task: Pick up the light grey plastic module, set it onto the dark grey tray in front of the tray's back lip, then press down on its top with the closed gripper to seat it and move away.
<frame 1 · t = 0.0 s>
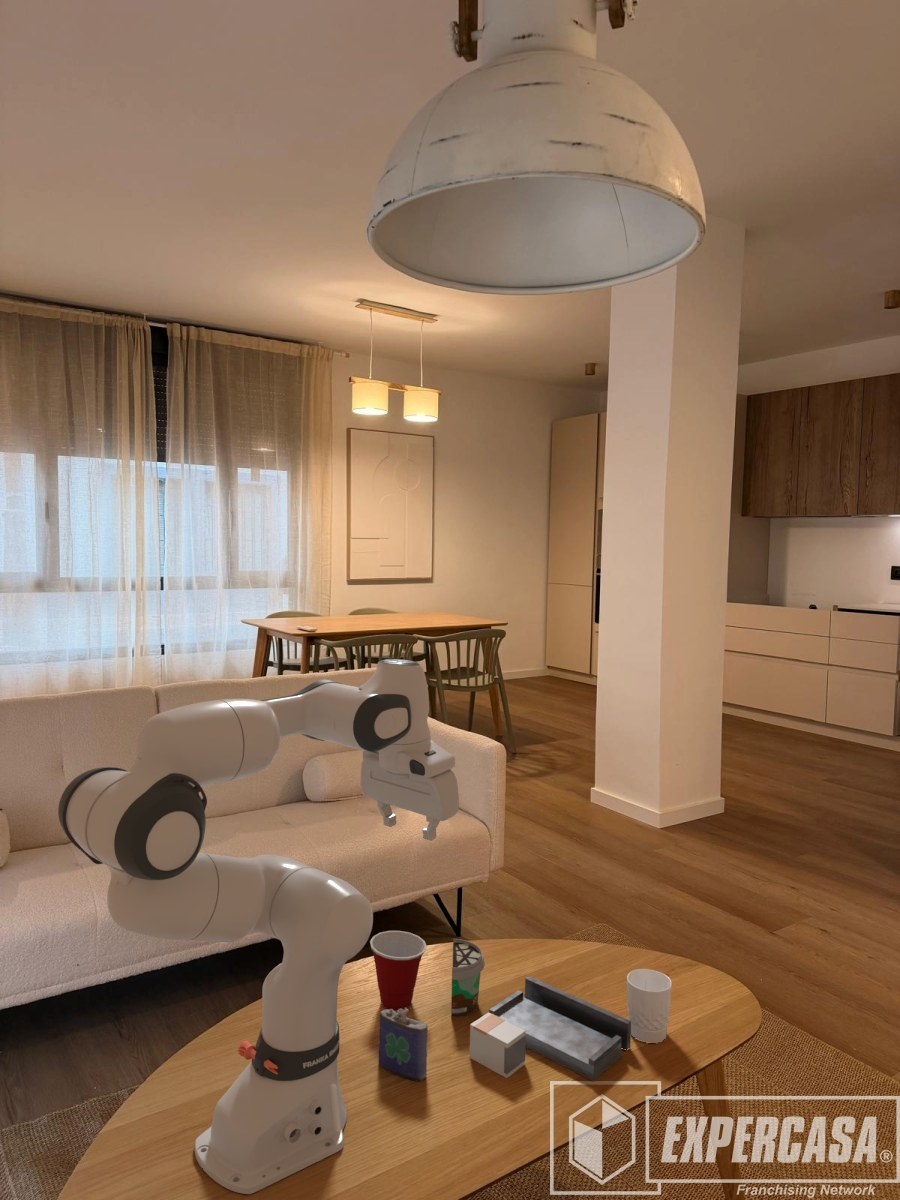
hand: (409, 831, 139), 39 cm above the table, tool pointing down, fingers open, 8 cm apart
module: (496, 1061, 139), on the table
dark grey tray: (553, 1042, 145), on the table
plastic cup: (397, 1003, 157), on the table
white cup: (647, 1034, 148), on the table
flask: (401, 1072, 136), on the table
food container: (467, 1004, 157), on the table
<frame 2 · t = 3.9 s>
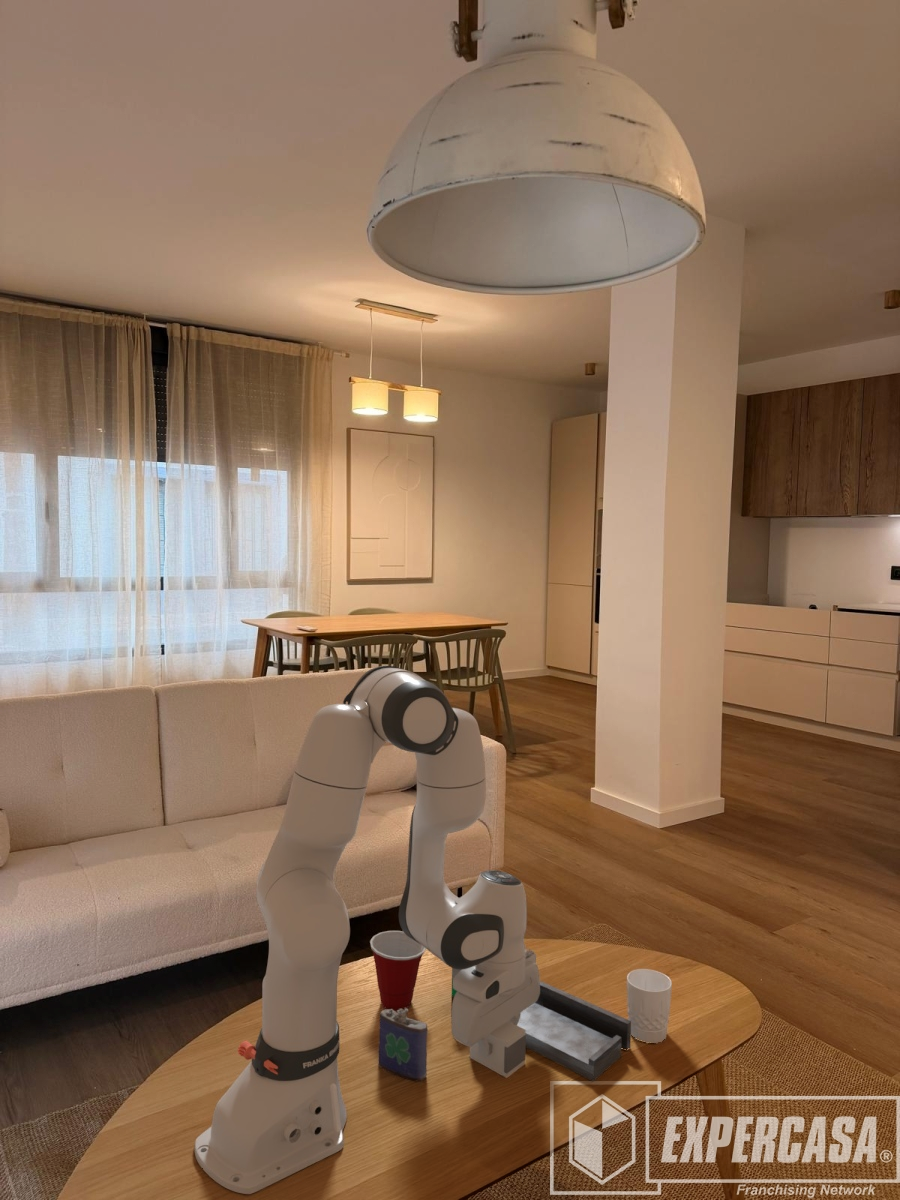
hand: (497, 1045, 139), 3 cm above the table, tool pointing down, fingers closed on module, 5 cm apart
module: (497, 1060, 139), on the table, touching gripper
everything else where it was.
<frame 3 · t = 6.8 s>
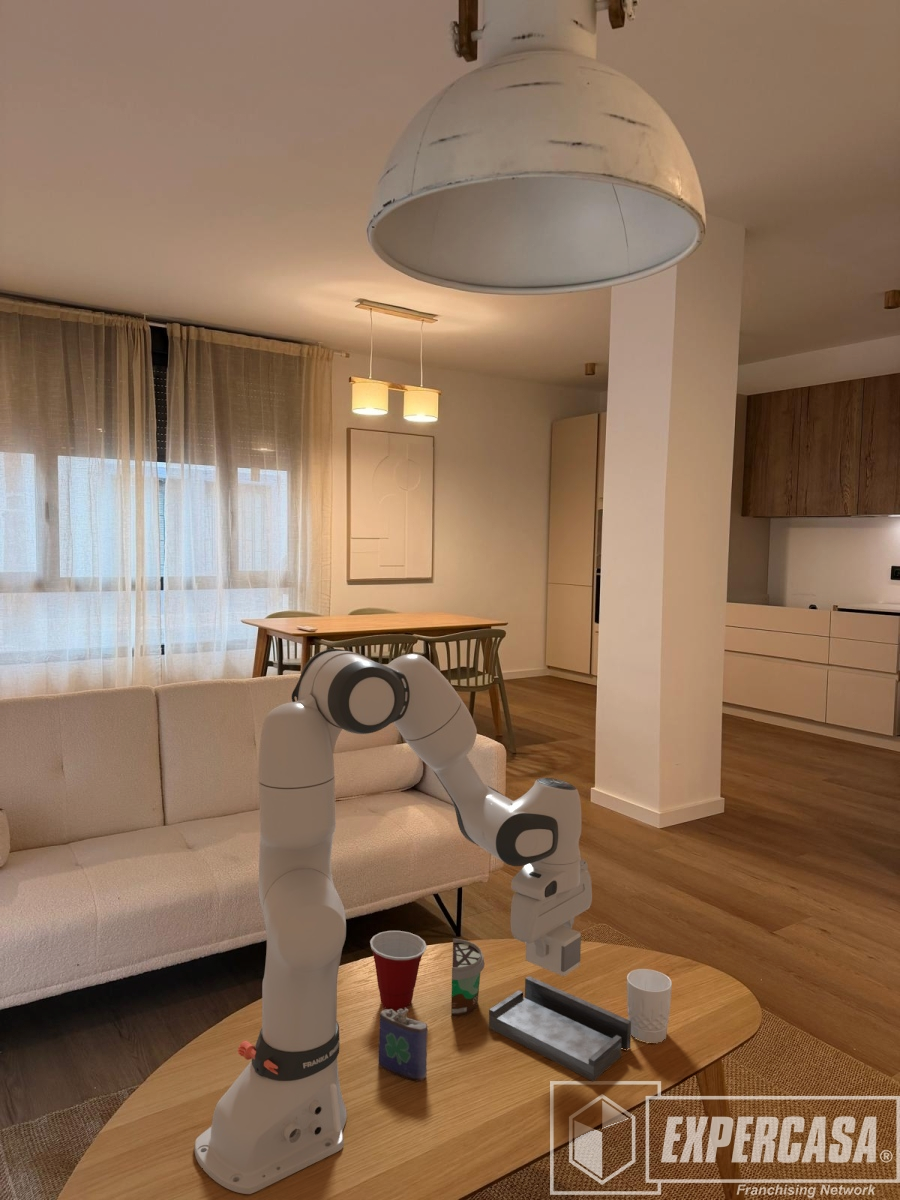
hand: (552, 948, 143), 17 cm above the table, tool pointing down, fingers closed on module, 5 cm apart
module: (552, 963, 143), point 15 cm above the table, touching gripper
everything else where it was.
when the fingers open (6 cm above the table, at t = 9.5 s): module stays where it is, resting on dark grey tray.
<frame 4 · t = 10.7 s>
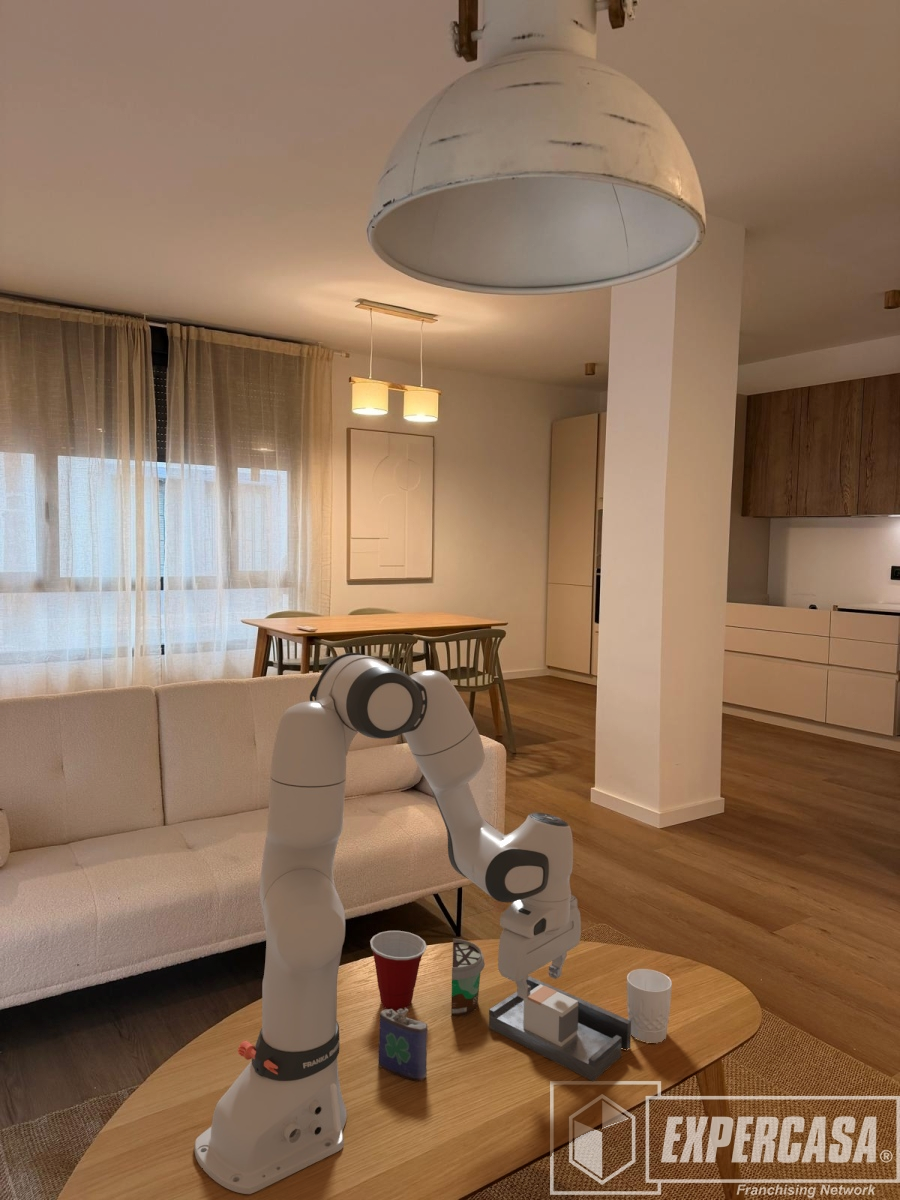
hand: (539, 986, 141), 12 cm above the table, tool pointing down, fingers open, 8 cm apart
module: (550, 1031, 144), point 2 cm above the table, touching dark grey tray
everything else where it was.
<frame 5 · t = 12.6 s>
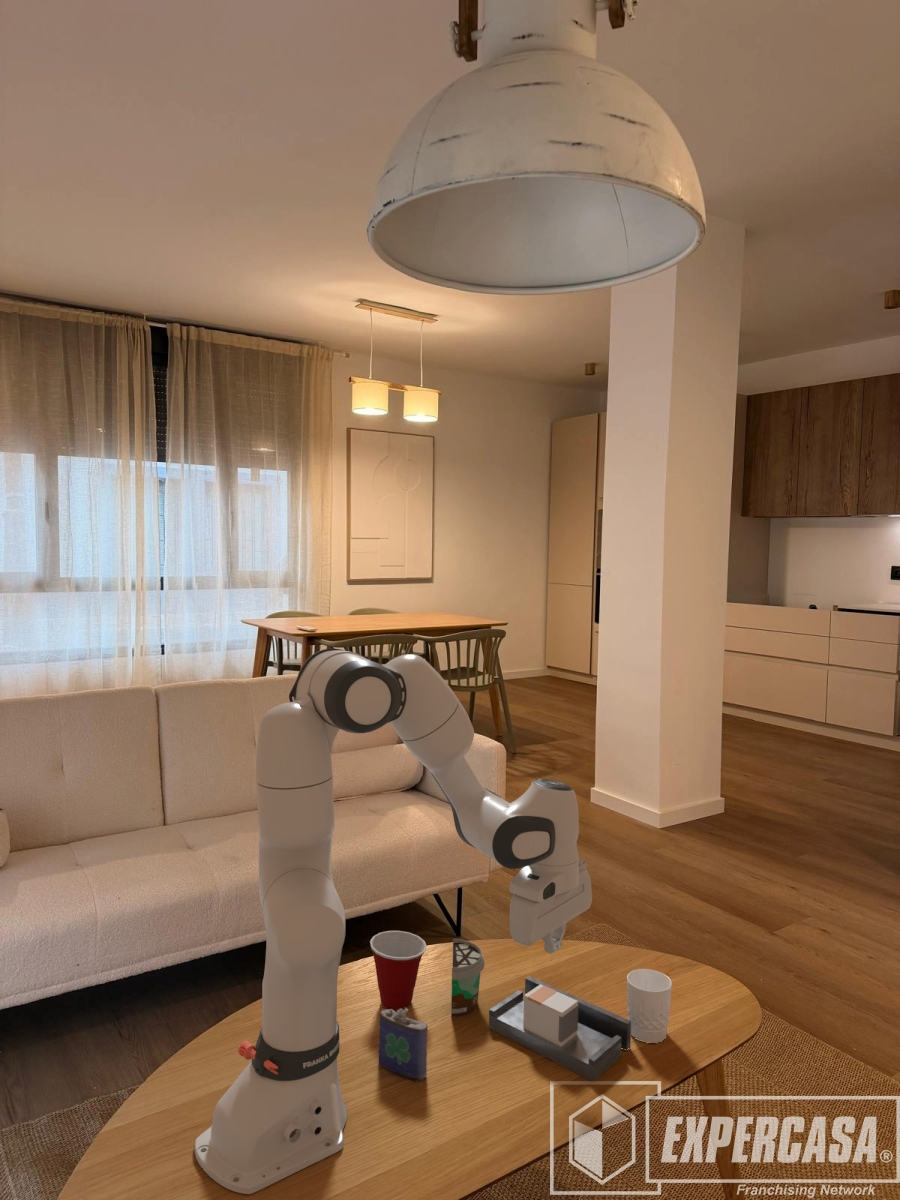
hand: (553, 949, 143), 17 cm above the table, tool pointing down, fingers closed
nothing on the table moved.
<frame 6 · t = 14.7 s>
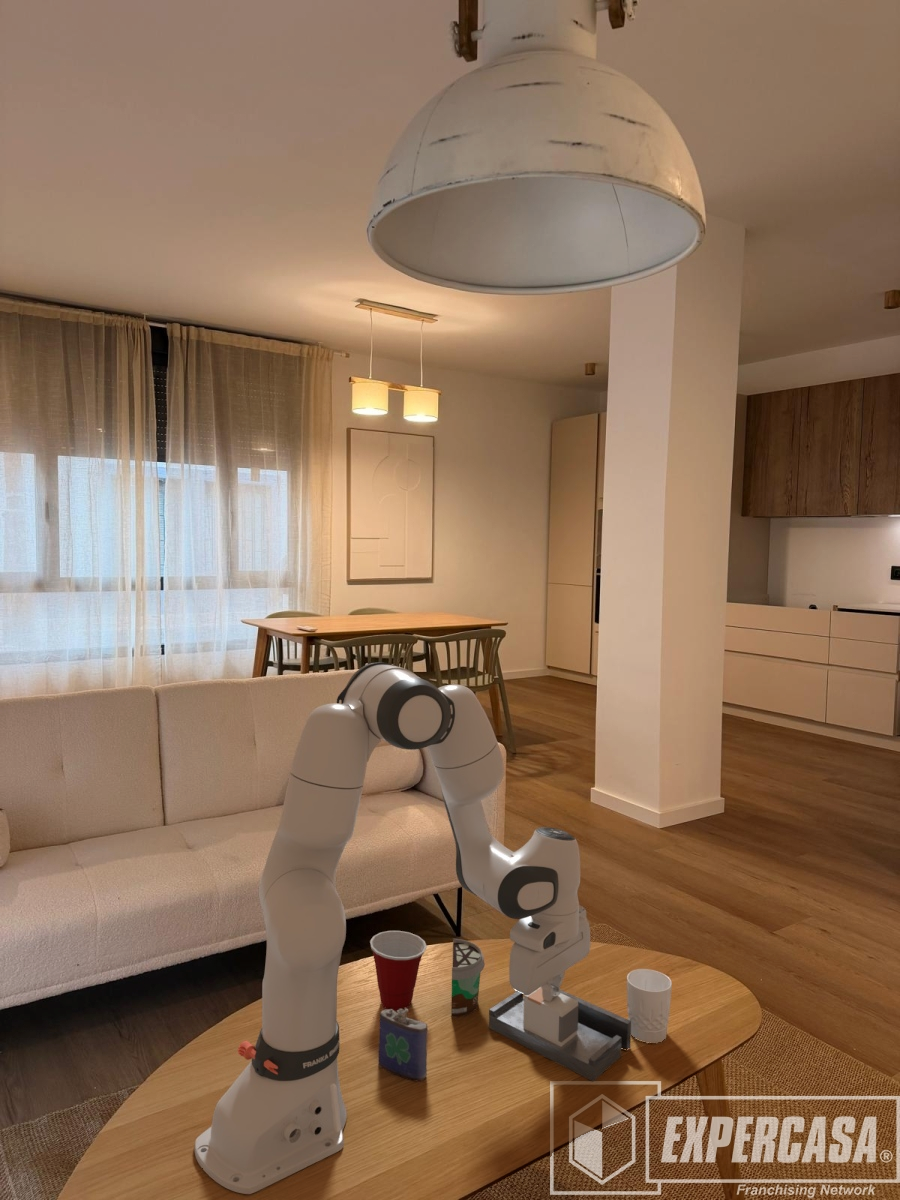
hand: (551, 997, 144), 9 cm above the table, tool pointing down, fingers closed, pressing on module
module: (550, 1031, 144), point 2 cm above the table, touching gripper, dark grey tray
everything else where it was.
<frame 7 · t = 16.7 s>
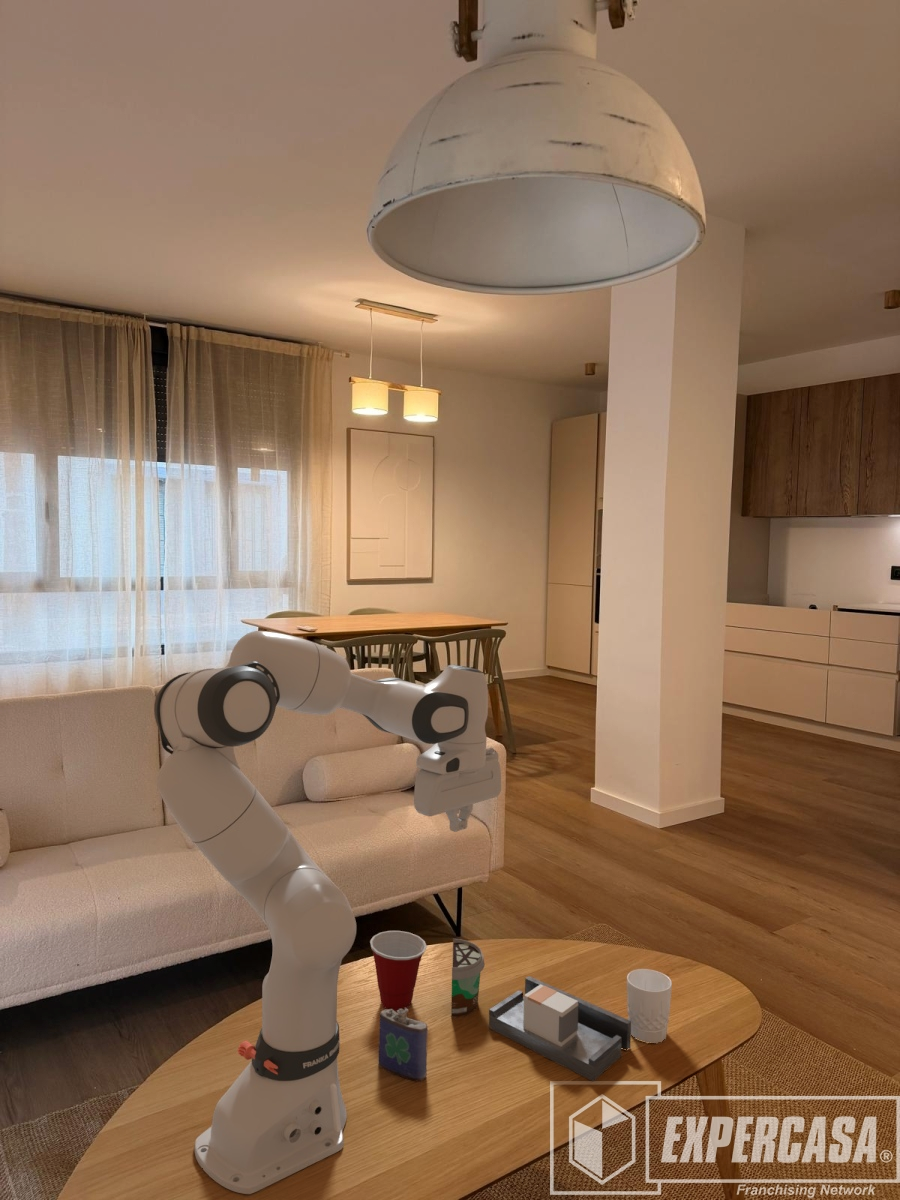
hand: (458, 829, 149), 36 cm above the table, tool pointing down, fingers closed
module: (550, 1031, 144), point 2 cm above the table, touching dark grey tray
everything else where it was.
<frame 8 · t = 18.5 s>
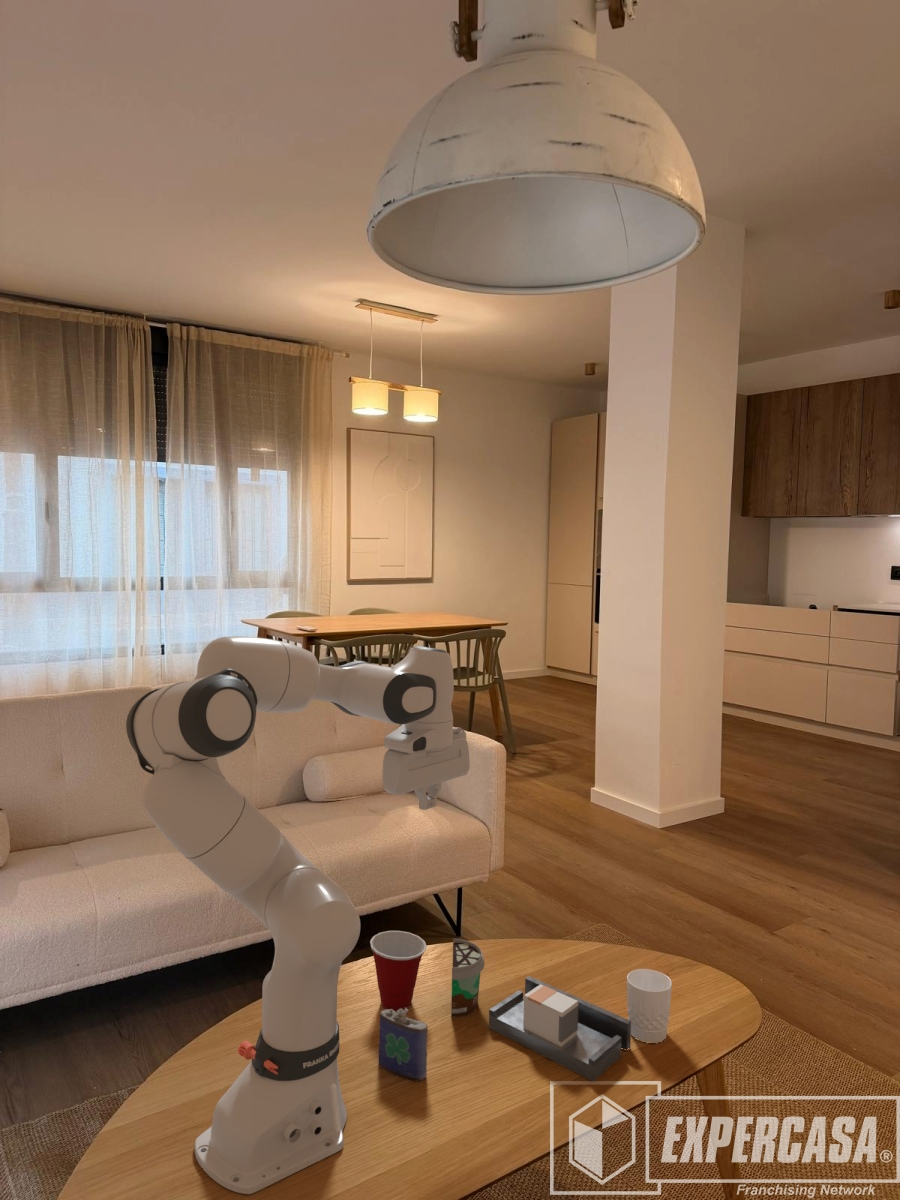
hand: (427, 807, 151), 39 cm above the table, tool pointing down, fingers closed
nothing on the table moved.
at the end: module inside the target area (1.1 cm from its centre), point 2.5 cm above the table; module tilted 0°; the gripper is holding nothing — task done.
